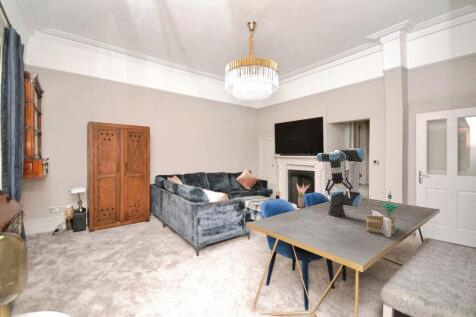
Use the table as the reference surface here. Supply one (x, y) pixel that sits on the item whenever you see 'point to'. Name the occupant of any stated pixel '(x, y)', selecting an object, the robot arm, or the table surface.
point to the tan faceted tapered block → (377, 223)
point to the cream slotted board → (384, 224)
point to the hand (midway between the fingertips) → (339, 198)
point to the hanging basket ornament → (390, 208)
